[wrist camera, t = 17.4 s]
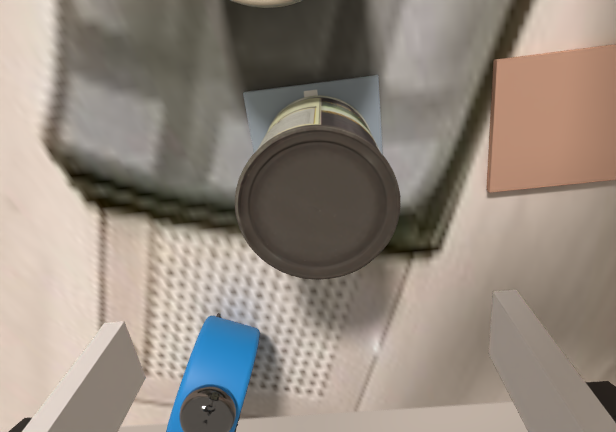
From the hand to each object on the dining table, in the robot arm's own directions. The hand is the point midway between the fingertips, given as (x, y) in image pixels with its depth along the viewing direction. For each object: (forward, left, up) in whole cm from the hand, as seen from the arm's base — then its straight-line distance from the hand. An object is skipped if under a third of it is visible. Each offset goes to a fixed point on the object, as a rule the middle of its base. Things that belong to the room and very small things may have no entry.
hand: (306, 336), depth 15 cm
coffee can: (0, 0, -26) cm, 26 cm away
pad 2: (0, +22, -27) cm, 35 cm away
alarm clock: (+22, -13, -27) cm, 37 cm away
